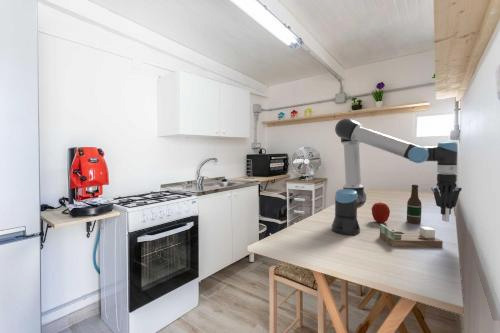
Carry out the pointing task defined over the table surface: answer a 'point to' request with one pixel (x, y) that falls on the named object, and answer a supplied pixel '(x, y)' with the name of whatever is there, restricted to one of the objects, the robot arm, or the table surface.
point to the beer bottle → (414, 207)
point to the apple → (380, 212)
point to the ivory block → (427, 232)
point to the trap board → (407, 238)
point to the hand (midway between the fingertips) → (445, 220)
